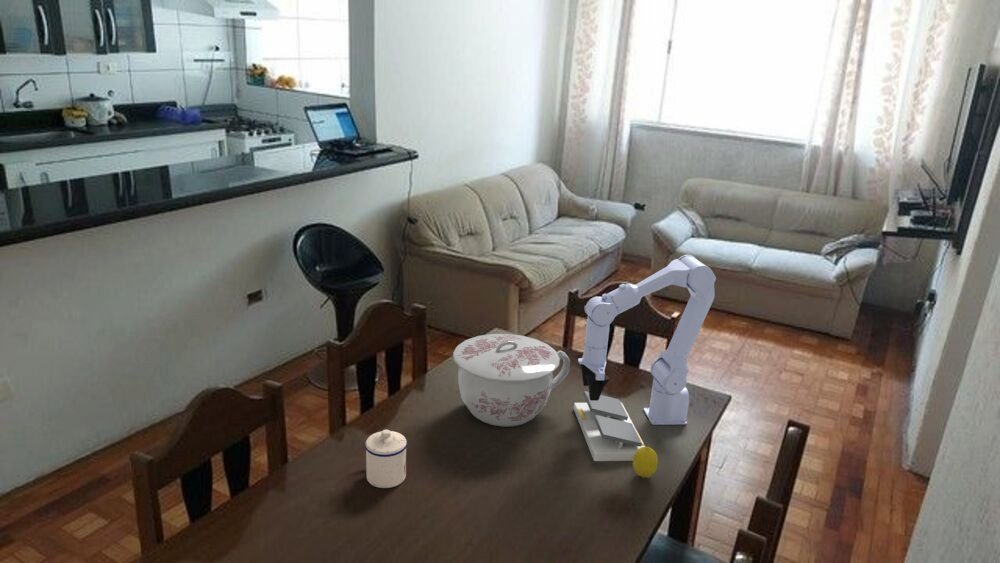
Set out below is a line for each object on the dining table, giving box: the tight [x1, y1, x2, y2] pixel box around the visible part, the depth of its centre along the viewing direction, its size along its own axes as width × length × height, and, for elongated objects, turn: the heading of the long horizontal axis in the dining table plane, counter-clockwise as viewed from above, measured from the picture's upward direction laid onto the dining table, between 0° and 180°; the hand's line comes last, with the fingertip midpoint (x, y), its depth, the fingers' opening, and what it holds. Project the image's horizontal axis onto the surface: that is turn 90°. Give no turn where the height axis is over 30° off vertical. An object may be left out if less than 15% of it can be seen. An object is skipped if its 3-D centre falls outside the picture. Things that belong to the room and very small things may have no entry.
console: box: [573, 401, 646, 462], centre depth 176 cm, size 13×24×3 cm, turn 6°
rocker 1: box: [582, 390, 628, 420], centre depth 181 cm, size 10×10×2 cm
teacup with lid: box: [364, 429, 408, 489], centre depth 154 cm, size 12×9×12 cm
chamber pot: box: [452, 333, 571, 427], centre depth 180 cm, size 28×28×21 cm
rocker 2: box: [594, 415, 642, 447], centre depth 169 cm, size 10×10×2 cm
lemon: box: [632, 446, 659, 478], centre depth 158 cm, size 6×6×8 cm
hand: (590, 392), depth 179 cm, fingers open, 7 cm apart
